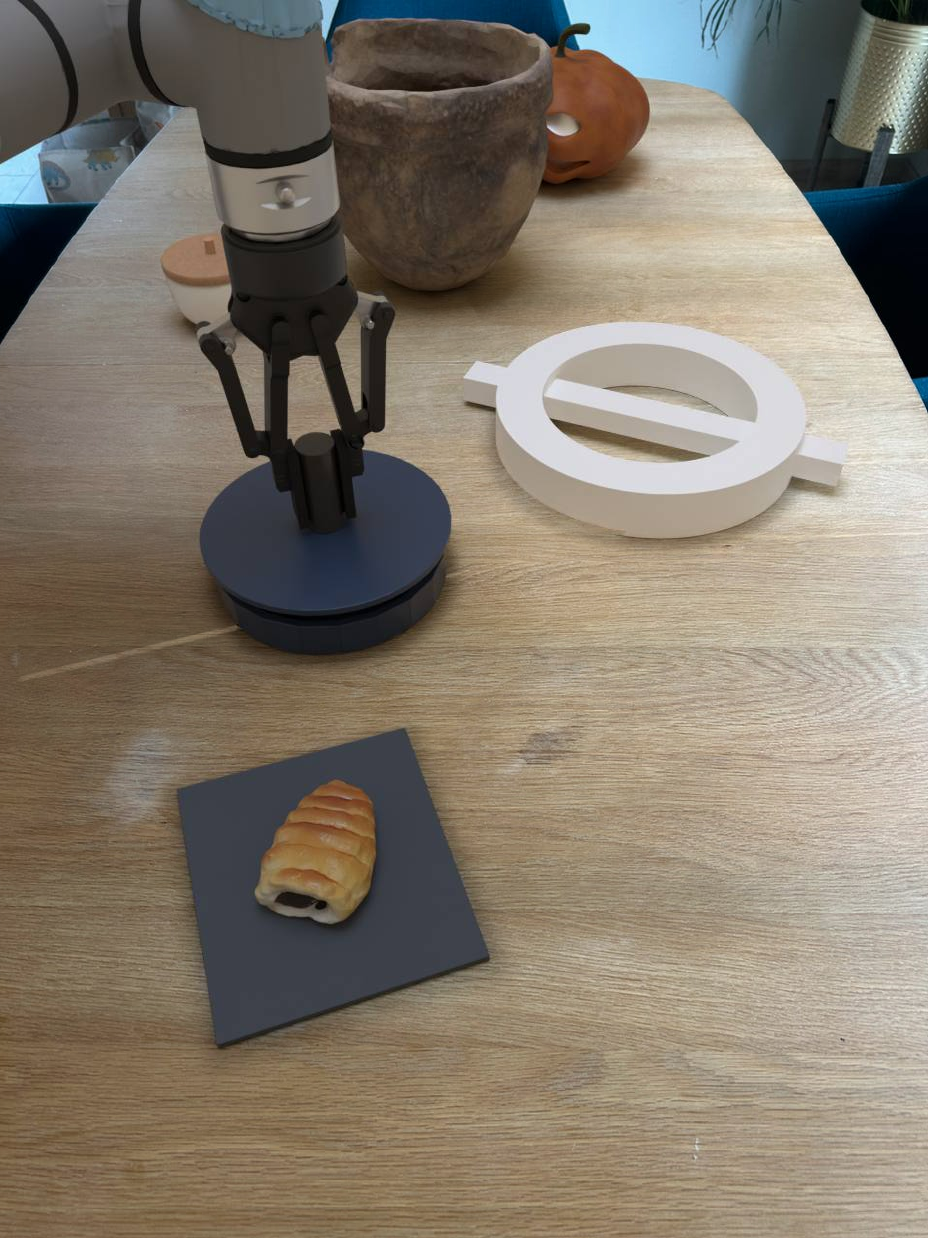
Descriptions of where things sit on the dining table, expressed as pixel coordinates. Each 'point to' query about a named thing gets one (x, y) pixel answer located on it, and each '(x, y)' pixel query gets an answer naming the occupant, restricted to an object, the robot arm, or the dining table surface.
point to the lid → (326, 534)
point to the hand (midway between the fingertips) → (324, 512)
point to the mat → (300, 946)
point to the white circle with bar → (652, 428)
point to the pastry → (321, 856)
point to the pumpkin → (591, 112)
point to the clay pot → (437, 142)
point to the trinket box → (198, 277)
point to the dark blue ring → (339, 620)
